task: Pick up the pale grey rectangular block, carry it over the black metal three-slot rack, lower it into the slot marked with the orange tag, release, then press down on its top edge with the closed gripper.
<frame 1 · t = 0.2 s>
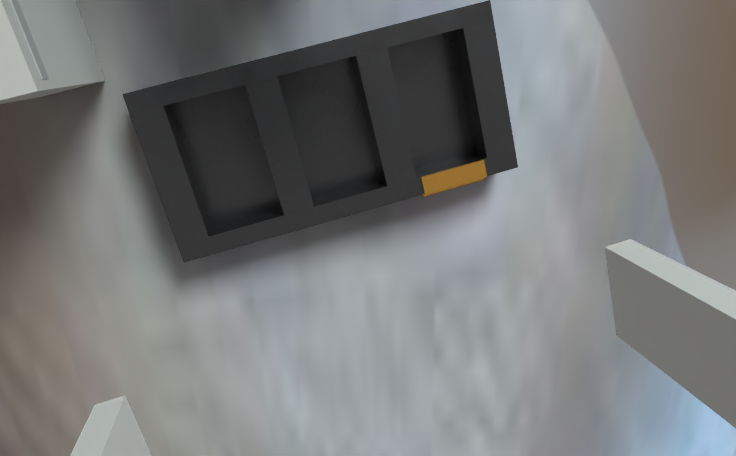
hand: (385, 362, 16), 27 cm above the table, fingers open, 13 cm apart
rack: (328, 127, 41), on the table
pale grey rectangular block: (51, 32, 37), on the table
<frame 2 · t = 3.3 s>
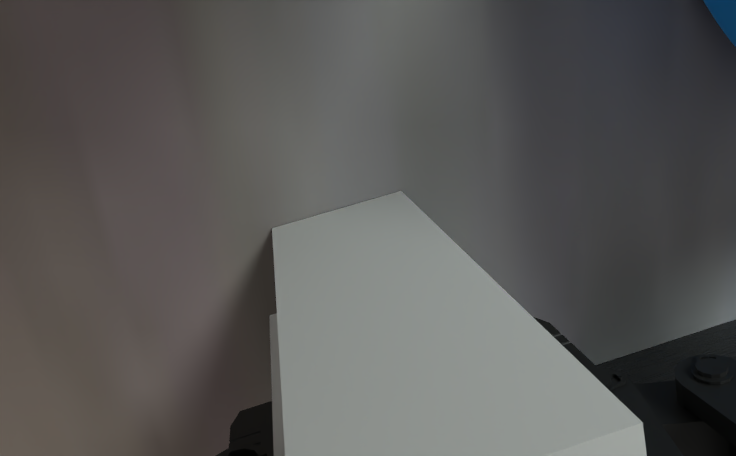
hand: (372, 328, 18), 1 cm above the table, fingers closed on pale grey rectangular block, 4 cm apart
pale grey rectangular block: (365, 312, 19), on the table, touching gripper
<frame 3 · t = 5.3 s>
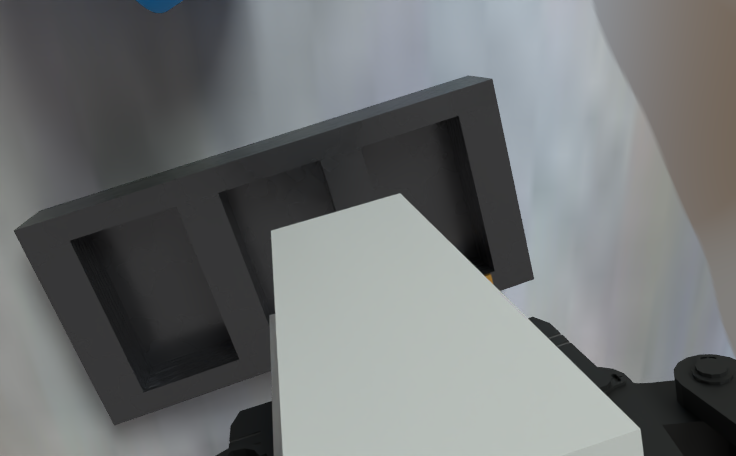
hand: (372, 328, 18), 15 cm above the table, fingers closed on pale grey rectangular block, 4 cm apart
rack: (293, 236, 33), on the table
pale grey rectangular block: (364, 314, 19), point 14 cm above the table, touching gripper
when the fingers open (4 cm above the table, at t = 7.1 s): pale grey rectangular block drops 2 cm, resting on rack.
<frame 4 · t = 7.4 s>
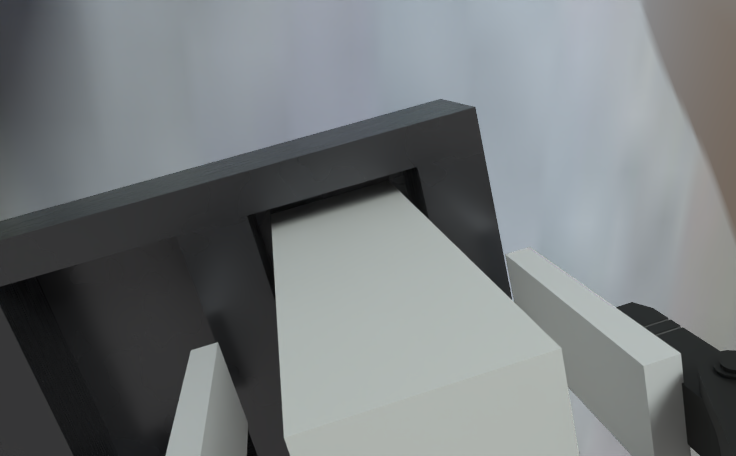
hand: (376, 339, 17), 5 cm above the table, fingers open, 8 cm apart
rack: (160, 340, 21), on the table
pale grey rectangular block: (356, 292, 21), point 1 cm above the table, touching rack
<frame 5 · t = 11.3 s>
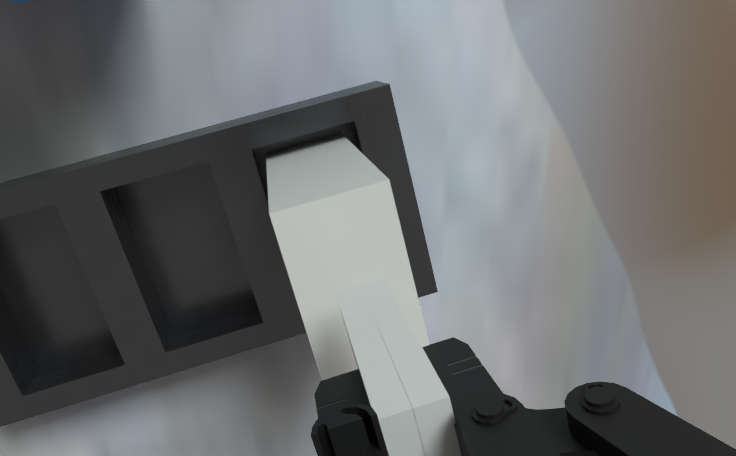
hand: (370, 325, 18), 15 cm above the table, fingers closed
rack: (193, 239, 32), on the table
pale grey rectangular block: (321, 207, 32), point 1 cm above the table, touching rack
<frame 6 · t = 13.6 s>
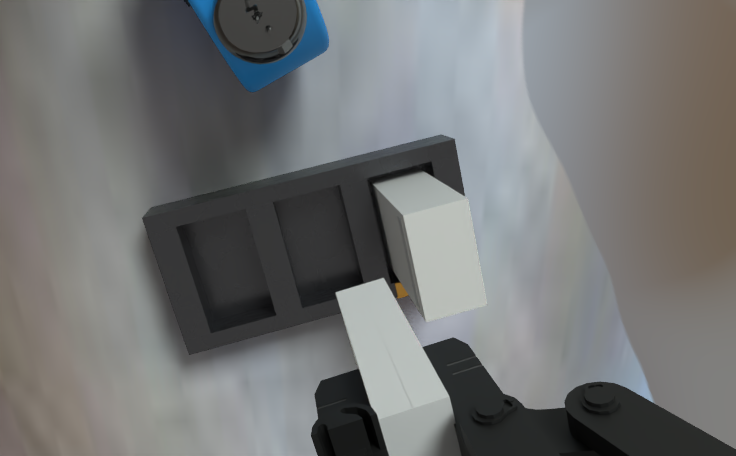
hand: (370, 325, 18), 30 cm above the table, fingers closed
rack: (317, 236, 48), on the table
pale grey rectangular block: (403, 216, 47), point 1 cm above the table, touching rack
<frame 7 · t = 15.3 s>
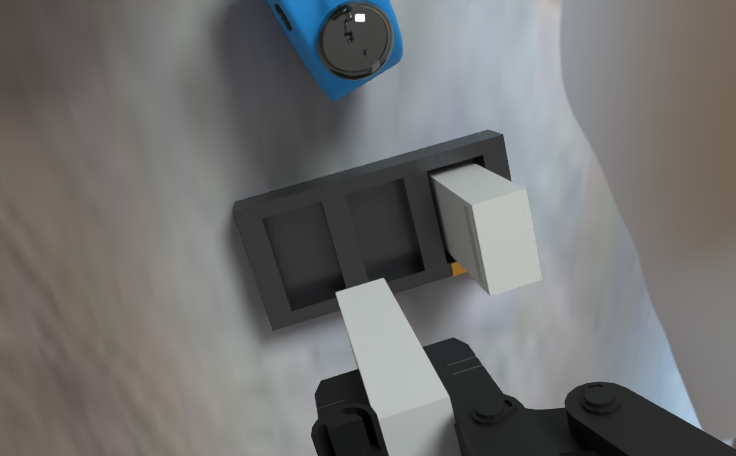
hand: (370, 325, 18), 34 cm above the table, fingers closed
alarm clock: (310, 6, 48), on the table
rack: (378, 223, 53), on the table
pale grey rectangular block: (455, 203, 53), point 1 cm above the table, touching rack
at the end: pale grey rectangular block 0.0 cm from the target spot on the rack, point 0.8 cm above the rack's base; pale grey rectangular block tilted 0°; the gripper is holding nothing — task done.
